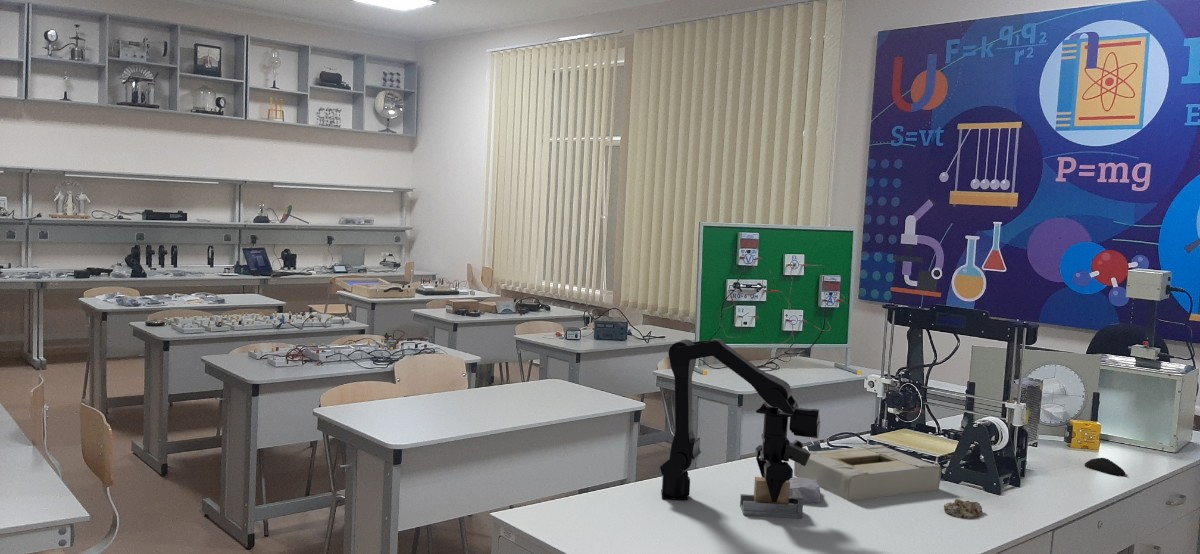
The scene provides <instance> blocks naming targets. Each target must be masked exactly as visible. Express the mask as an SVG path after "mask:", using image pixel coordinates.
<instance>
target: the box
mask: <svg viewBox="0 0 1200 554" xmlns="http://www.w3.org/2000/svg"><path fill="white" fill-rule="evenodd" d="M808 451H809V453H810V454H811V455H810V457H809V459H808V462H807V464H806V466H803V465H801V464H800V463H798V462H795V461H794V466H793V467H794V468H793V476H794V477H800V478H806V479H811V480H815V479H816V480H817V485H819V487H820V489H822V490H825V491H826V492H829V493H830V494H834V495H835V496H836V497H840V498H842V499H843V500H846V501H848V502H850V501H851V502H852V501H857V500H859V501H860V500H865V499H874V498H881V497H888V496H890V497H891V496H896V495H897V496H898V495H904V494H913V493H915V494H916V493H920V492H921V493H922V492H929V491H938V490H940V489H939V488H940V483H941V476H942V467H941V466H940V465H937V464H934V463H931V462H928V461H925V460H922V459H920V458H916V457H914V456H911V455H908V454H905V453H903V452H900V451H897V450H895V449H891V448H888V447H887V446H885V445H883V444H874V445H872V444H871V445H861V446H860V447H852V448H843V449H842V448H840V449H828V450H818V451H817V450H816V451H813V450H808Z"/></svg>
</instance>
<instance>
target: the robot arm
mask: <svg viewBox="0 0 1200 554" xmlns="http://www.w3.org/2000/svg"><path fill="white" fill-rule="evenodd" d="M707 357H713V358H715V359H717V360H718V362H720V363H721V364H723V365H724V366H726V367H727V368H729V369H730V370H731V371H732V372H733V373H735V374H736V375H737V376H739V377H740V378H741V379H743V380H744V381H745V382H747V383H748V384H750V385H751V387H752V388H753V389H754V390H755V391H756V393H757V394H758V395H759V397H760V398H761V399H763V400H764V401H765V402H763V403H762V405H760V407H758V408H757V409H756V410H755V412H756V414H762V415H763V430H762V431H763V432H762V433H761V435H760V436H761V439H762V444H759V445H758V446H757V447H755V451H754V452H755V453H754V454H755V455H754V456H755V458H756V459H755V460H756V463H757V466H758V468H759V472H760V475H761V477H765V480H766V483H767V486H768V490H769V493H770V497H771V500H772V502H777V500H778V497H779V494H780V491H781V488H782V485H783V483H784V482H786V481H787V480H790V479H791V478H793V476H794V468H792V466H791V465H790V464H789V463H788V462H789V461H790V460H791V461H793V462H794V463H795V462H798V463H800V464H801V465H803V466H806V464H807V462H808V459H809V457H810V455H811V454H810V453H809V451H810V450H807V449H806V448H805V447H804V446H803V442H802V441H801V440H797V439H795V440H794V441H793V442H791V441H790V440H789V439H788V438H789V437H788V429H789V432H791V433H792V434H793V436H796V437H804V438H811V439H812V438H813V439H819V437H820V432H821V421H820V420H821V418H820V409H818V408H803V407H799V404H798V403H797V402H796V399H795V398H794V396H793V395H792V388H791V385H790V384H789V383H788V382H787V381H786V380H784V379H781V378H779V377H778V376H775V375H773V374H770V373H768V372H766V371H763V370H762V369H760V368H759V367H758V366H756V365H754V364H753V363H752V362H751V361H749V360H748V359H747V358H746V357H743V355H741V354H740V353H739V352H737V351H736V350H735V349H733V348H732V347H731V346H729V345H728V344H726V343H725V341H724V340H723V339H720V338H713V339H708V340H700V341H699V340H697V341H693V340H690V339H681V340H679V341H677V342H674V343H673V344H672V345H670V347H669V348H668V358H669V359H668V360H669V364H670V368H671V371H672V374H673V377H674V378H673V379H674V435H673V438H672V442H671V446H670V452H669V459H667V460H666V461H665V462H663V464H661V465H660V466H659V470H660V471H661V472H660V473H661V475H662V477H661V478H662V481H661V489H660V494H661V499H662V500H663V499H664V500H677V501H678V500H681V501H688V499H689V496H690V489H691V488H690V487H691V478H690V477H689V473H688V469H690V467H691V466H692V465H693V464H694V463H695V462H696V461H697V460H698V458H699V456H700V454H702V452H701V450H700V448H701V447H700V445H701V444H700V443H701V437H695V435H694V432H693V375H694V370H695V367H696V364H697V359H703V358H707ZM788 427H789V428H788Z"/></svg>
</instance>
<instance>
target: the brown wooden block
mask: <svg viewBox="0 0 1200 554" xmlns="http://www.w3.org/2000/svg"><path fill="white" fill-rule="evenodd" d="M753 485H754V487H753V495H754V501H755V502H772V500H771V497H770V493H769V490H768V486H767V483H766V480H765V477H762V476H755V477H754V484H753ZM789 491H790V482H789V480H787V481H786V482H784V483H783V485H782V488H781V491H780V494H779V497H778V500H777V502H773V503H789Z"/></svg>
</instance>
